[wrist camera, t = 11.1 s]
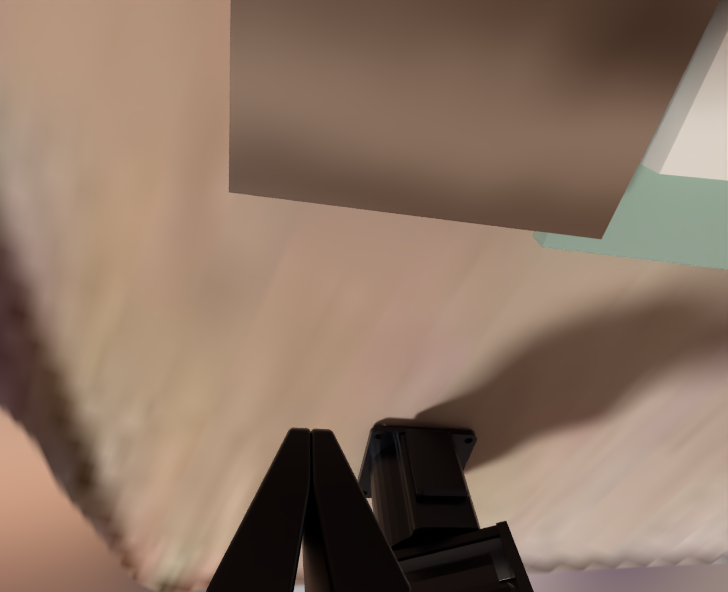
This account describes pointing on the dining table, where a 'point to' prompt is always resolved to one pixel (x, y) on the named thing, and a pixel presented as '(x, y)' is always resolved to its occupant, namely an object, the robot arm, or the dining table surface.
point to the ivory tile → (697, 112)
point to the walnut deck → (455, 104)
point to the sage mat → (661, 222)
